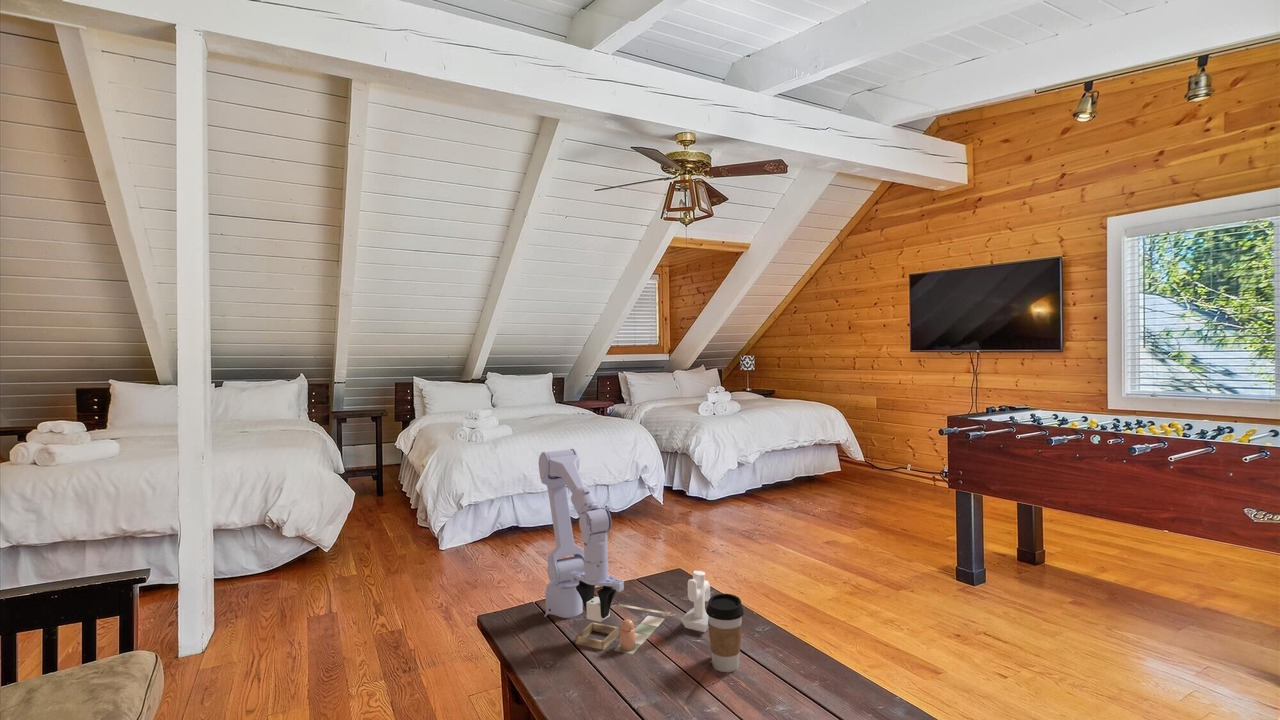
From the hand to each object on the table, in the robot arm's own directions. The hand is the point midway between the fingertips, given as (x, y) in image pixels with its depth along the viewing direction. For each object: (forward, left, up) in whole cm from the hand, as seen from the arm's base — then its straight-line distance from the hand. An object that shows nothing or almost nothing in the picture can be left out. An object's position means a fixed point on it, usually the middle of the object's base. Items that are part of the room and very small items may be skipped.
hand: (597, 614), depth 159 cm
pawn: (+8, -1, -6) cm, 10 cm away
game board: (+3, +8, -7) cm, 11 cm away
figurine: (+20, +16, -8) cm, 27 cm away
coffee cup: (+31, +2, -8) cm, 32 cm away
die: (0, 0, -1) cm, 1 cm away
